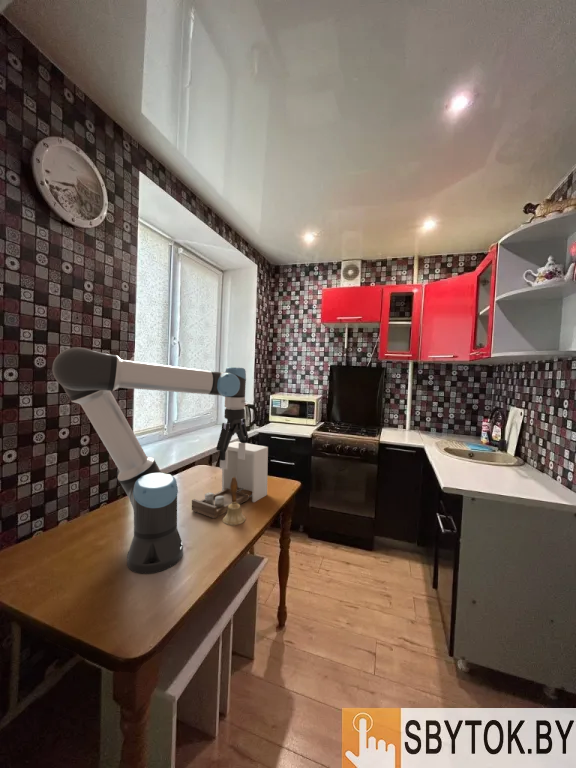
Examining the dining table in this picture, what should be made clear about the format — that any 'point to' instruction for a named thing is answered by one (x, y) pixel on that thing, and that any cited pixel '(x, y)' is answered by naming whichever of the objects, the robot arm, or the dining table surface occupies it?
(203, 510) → the tray
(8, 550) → the dining table surface
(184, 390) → the robot arm
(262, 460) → the white upright box
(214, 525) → the dining table surface
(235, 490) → the hand bell
